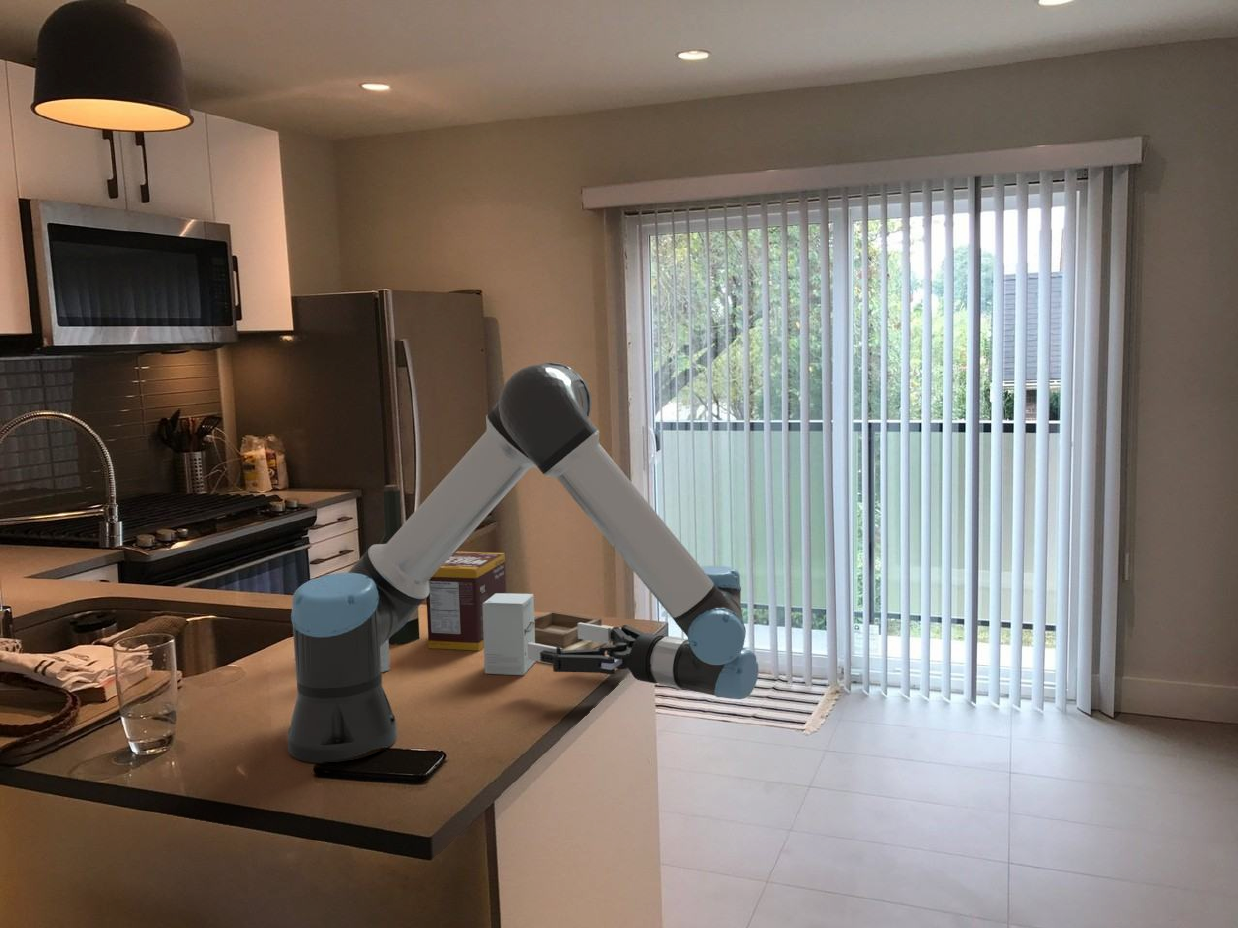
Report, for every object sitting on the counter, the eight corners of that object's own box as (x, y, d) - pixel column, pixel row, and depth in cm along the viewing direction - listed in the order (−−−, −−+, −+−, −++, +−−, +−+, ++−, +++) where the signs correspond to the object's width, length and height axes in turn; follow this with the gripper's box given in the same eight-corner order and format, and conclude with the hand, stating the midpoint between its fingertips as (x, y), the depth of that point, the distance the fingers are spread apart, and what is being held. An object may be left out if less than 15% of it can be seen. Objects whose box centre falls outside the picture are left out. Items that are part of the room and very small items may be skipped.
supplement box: (508, 628, 200) (505, 551, 198) (479, 651, 185) (475, 569, 183) (460, 626, 202) (457, 550, 201) (427, 648, 188) (423, 567, 186)
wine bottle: (426, 632, 198) (419, 482, 195) (412, 644, 190) (404, 488, 187) (386, 631, 199) (378, 482, 196) (370, 644, 191) (361, 489, 188)
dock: (558, 664, 176) (558, 642, 176) (490, 650, 185) (489, 629, 185) (622, 635, 193) (621, 615, 192) (556, 624, 202) (556, 605, 201)
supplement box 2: (525, 676, 171) (522, 603, 169) (483, 674, 172) (480, 602, 171) (537, 662, 178) (534, 593, 176) (497, 660, 179) (494, 591, 178)
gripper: (617, 707, 147) (507, 683, 159) (701, 661, 167) (598, 642, 179) (616, 658, 146) (505, 637, 158) (701, 617, 166) (597, 602, 178)
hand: (554, 640), depth 169 cm, fingers open, 13 cm apart
